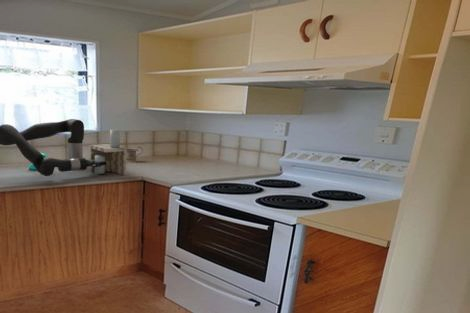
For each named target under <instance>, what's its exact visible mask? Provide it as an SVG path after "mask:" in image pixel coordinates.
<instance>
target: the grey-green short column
mask: <svg viewBox="0 0 470 313" xmlns="http://www.w3.org/2000/svg"><path fill="white" fill-rule="evenodd" d="M95 161H97V162H104V161H105V155H95ZM98 165H99V164H98ZM94 173H95V174H99V175H101V174H105V173H106V171H105V165H101V167H95V172H94Z"/></svg>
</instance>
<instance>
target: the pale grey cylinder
mask: <svg viewBox="0 0 470 313" xmlns="http://www.w3.org/2000/svg"><path fill="white" fill-rule="evenodd" d="M109 130H110V131H109V144H110V147H111V148H120V146H121V130H120V129H109Z"/></svg>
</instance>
